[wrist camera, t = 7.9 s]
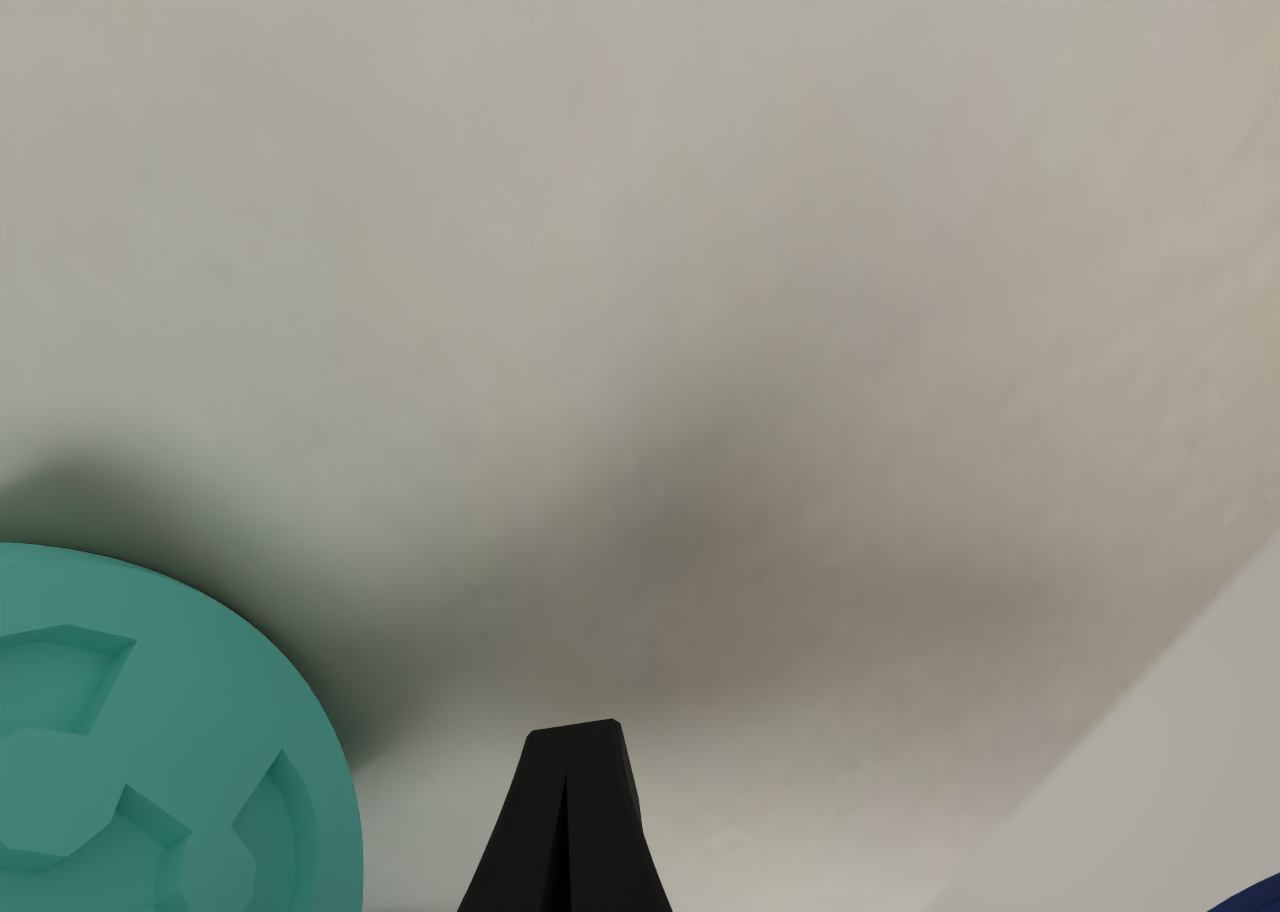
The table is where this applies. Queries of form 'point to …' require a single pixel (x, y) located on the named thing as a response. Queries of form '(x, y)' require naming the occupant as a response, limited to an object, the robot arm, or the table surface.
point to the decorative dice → (159, 752)
